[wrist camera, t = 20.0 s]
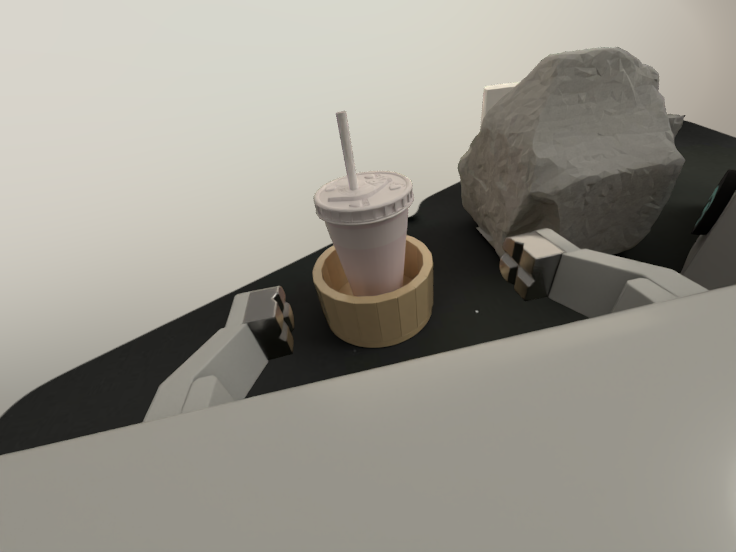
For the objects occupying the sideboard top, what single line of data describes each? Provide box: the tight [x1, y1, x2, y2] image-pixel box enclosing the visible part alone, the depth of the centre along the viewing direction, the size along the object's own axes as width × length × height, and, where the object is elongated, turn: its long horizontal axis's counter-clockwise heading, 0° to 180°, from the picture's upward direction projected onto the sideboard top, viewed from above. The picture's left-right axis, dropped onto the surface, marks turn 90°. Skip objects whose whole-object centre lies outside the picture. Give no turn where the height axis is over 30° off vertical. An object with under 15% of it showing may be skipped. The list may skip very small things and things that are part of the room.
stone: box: [458, 47, 685, 258], centre depth 24 cm, size 12×12×15 cm
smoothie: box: [313, 111, 414, 296], centre depth 20 cm, size 6×6×14 cm
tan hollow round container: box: [313, 235, 433, 348], centre depth 23 cm, size 9×9×4 cm
